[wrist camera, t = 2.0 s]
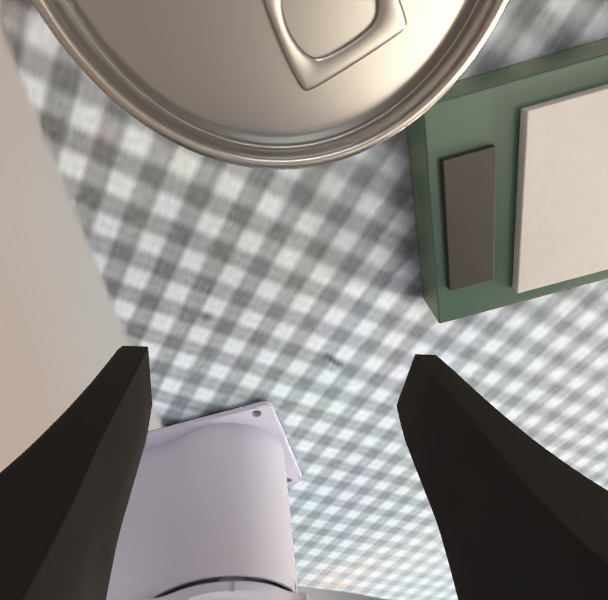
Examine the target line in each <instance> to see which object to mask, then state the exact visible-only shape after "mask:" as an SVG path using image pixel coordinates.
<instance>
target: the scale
mask: <svg viewBox="0 0 608 600" xmlns="http://www.w3.org/2000/svg"><path fill="white" fill-rule="evenodd" d="M407 136H408V146H409V156H410V166H411V176H412V186H413V196H414V206H415V216H416V226H417V236H418V246H419V256H420V267H421V277H422V287H423V297H424V300H425V301H426V303H427V305H428V306H429V308H430V309H431V311H432V312H433V314H434V316H435V317H436V319H437V320H438V322H439V323H443V322H447V321H451V320H454V319H458V318H462V317H466V316H469V315H473V314H477V313H481V312H484V311H488V310H492V309H496V308H499V307H503V306H507V305H510V304H514V303H518V302H522V301H525V300H529V299H533V298H537V297H540V296H544V295H548V294H552V293H555V292H559V291H563V290H567V289H570V288H574V287H578V286H581V285H585V284H589V283H593V282H596V281H600V280H604V279H608V38H605V39H601V40H598V41H594V42H591V43H587V44H584V45H581V46H577V47H574V48H570V49H567V50H563V51H560V52H556V53H553V54H549V55H546V56H542V57H539V58H535V59H532V60H528V61H525V62H522V63H518V64H515V65H511V66H508V67H504V68H501V69H497V70H494V71H490V72H487V73H483V74H480V75H476V76H473V77H469V78H466V79H463V80H459V81H456V82H455V83H454V85H453V86H452V87H451V88H450V89H449V90H448V91H447V92H446V93H445V94H444V95H443V96H442V97H441V98H440V99H439V100H438V101H437V102H436V103H435V104H434V105H433V106H432V107H431V108H430V109H429V110H427V111H426V112H425V113H424V114H423V115H422V116H420V117H419V118H418V119H417V120H415V121H414V122H413V123H411V124H410V125H409V126H407Z"/></svg>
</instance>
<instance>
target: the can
mask: <svg viewBox="0 0 608 600" xmlns="http://www.w3.org/2000/svg"><path fill="white" fill-rule="evenodd" d="M32 2H33V4H34V5H35V7H36V9H37V10H38V12H39V13H40V15H41V16H42V18H43V20H44V21H45V23H46V24H47V25H48V27H49V28H50V30H51V31H52V33H53V34H54V35H55V37H56V38H57V39H58V41H59V42H60V43H61V45H62V46H63V47H64V49H65V50H66V51H67V52H68V54H69V55H70V56H71V57H72V59H73V60H74V61H75V62H76V63H77V64H78V66H79V67H80V68H81V69H82V70H83V71H84V72H85V73H86V74H87V76H88V77H89V78H90V79H91V80H92V81H93V82H94V83H95V84H96V85H97V86H98V87H99V88H100V89H101V90H102V91H103V92H104V93H105V94H107V95H108V96H109V97H110V98H111V99H112V100H113V101H114V102H115V103H117V104H118V105H119V106H120V107H121V108H123V109H124V110H125V111H126V112H128V113H129V114H130V115H132V116H133V117H134V118H135V119H137V120H138V121H140V122H141V123H143V124H144V125H145V126H147V127H148V128H150V129H152V130H153V131H155V132H156V133H158V134H160V135H161V136H163V137H165V138H166V139H168V140H170V141H172V142H174V143H176V144H178V145H180V146H182V147H184V148H186V149H188V150H191V151H193V152H196V153H198V154H201V155H203V156H206V157H209V158H212V159H215V160H218V161H222V162H226V163H230V164H234V165H239V166H245V167H251V168H260V169H298V168H307V167H314V166H319V165H324V164H328V163H332V162H336V161H339V160H343V159H346V158H349V157H351V156H354V155H357V154H359V153H361V152H364V151H366V150H368V149H370V148H372V147H374V146H376V145H378V144H380V143H382V142H384V141H386V140H387V139H389V138H391V137H392V136H394V135H396V134H397V133H399V132H400V131H402V130H403V129H405V128H406V127H407V126H409V125H410V124H411V123H413V122H414V121H415V120H417V119H418V118H419V117H420V116H422V115H423V114H424V113H425V112H426V111H427V110H429V109H430V108H431V107H432V106H433V105H434V104H435V103H436V102H437V101H438V100H439V99H440V98H441V97H442V96H443V95H444V94H445V93H446V92H447V91H448V90H449V89H450V88H451V87H452V86H453V85H454V83H455V82H456V81H457V80H458V79H459V78H460V77H461V75H462V74H463V73H464V72H465V70H466V69H467V68H468V67H469V65H470V64H471V63H472V61H473V60H474V59H475V57H476V56H477V54H478V53H479V51H480V50H481V49H482V47H483V46H484V44H485V43H486V41H487V39H488V38H489V36H490V35H491V33H492V31H493V30H494V28H495V26H496V25H497V23H498V21H499V19H500V17H501V16H502V14H503V12H504V10H505V8H506V6H507V4H508V2H509V0H32Z"/></svg>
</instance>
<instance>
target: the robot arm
mask: <svg viewBox="0 0 608 600" xmlns="http://www.w3.org/2000/svg"><path fill="white" fill-rule="evenodd" d="M151 408H152V395H151V381H150V368H149V355H148V347H142V346H122V347H121V348H119V349H118V350H117V351H116V353H115V354H114V355H113V357H112V358H111V359H110V361H109V362H108V363H107V364H106V365H105V367H104V368H103V369H102V370H101V372H100V373H99V374H98V375H97V376H96V378H95V379H94V380H93V381H92V382H91V384H90V385H89V386H88V387H87V388H86V389H85V390H84V391H83V393H82V394H81V395H80V396H79V397H78V398H77V399H76V400H75V401H74V403H73V404H72V405H71V406H70V407H69V408H68V409H67V410H66V411H65V412H64V413H63V414H62V416H60V417H59V419H57V421H55V422H54V423H53V424H52V425H51V426H50V427H49V429H48V430H46V431H45V432H44V433H43V435H41V437H40V438H39V439H37V440H36V441H35V443H33V444H32V445H31V446H30V447H29V448H28V449H27V450H26V451H25V452H23V453H22V454H21V455H20V456H19V457H18V458H17V459H16V460H15V461H13V462H12V463H11V464H10V465H9V466H8V467H7V468H5V469H4V470H3V471H2V472H1V473H0V600H309V596H308V594H307V593H298V591H297V580H296V570H295V560H294V549H293V539H292V529H291V518H290V508H289V498H288V487H287V485H288V484H292V483H296V482H299V481H300V480H301V479H302V473H301V470H300V468H299V465H298V463H297V461H296V458H295V456H294V454H293V451H292V449H291V447H290V444H289V442H288V440H287V437H286V435H285V433H284V430H283V428H282V426H281V423H280V421H279V419H278V416H277V414H276V412H275V409H274V407H273V405H272V403H270V402H268V401H262V402H258V403H254V404H250V405H247V406H243V407H239V408H235V409H231V410H228V411H224V412H220V413H216V414H213V415H209V416H205V417H201V418H197V419H194V420H190V421H186V422H182V423H179V424H175V425H171V426H167V427H163V428H160V429H156V430H152V431H148V426H149V420H150V414H151ZM397 409H398V413H399V418H400V422H401V426H402V430H403V434H404V438H405V441H406V444H407V446H408V449H409V452H410V454H411V457H412V459H413V462H414V465H415V467H416V470H417V472H418V475H419V477H420V480H421V482H422V485H423V488H424V490H425V493H426V495H427V498H428V500H429V503H430V505H431V508H432V511H433V513H434V516H435V519H436V522H437V525H438V527H439V530H440V534H441V537H442V541H443V544H444V548H445V551H446V555H447V558H448V562H449V565H450V569H451V573H452V577H453V581H454V585H455V589H456V593H457V596H458V600H608V491H607V490H606V489H604V488H602V487H601V486H599V485H598V484H596V483H594V482H593V481H591V480H590V479H588V478H587V477H585V476H584V475H582V474H581V473H579V472H578V471H576V470H574V469H573V468H572V467H570V466H569V465H567V464H566V463H564V462H563V461H562V460H560V459H559V458H557V457H556V456H555V455H553V454H552V453H550V452H549V451H548V450H546V449H545V448H544V447H542V446H541V445H540V444H538V443H537V442H536V441H534V440H533V439H532V438H531V437H529V436H528V435H527V434H526V433H524V432H523V431H522V430H521V429H519V428H518V427H517V426H516V425H514V424H513V423H512V422H511V421H510V420H508V419H507V418H506V417H505V416H504V415H502V414H501V413H500V412H499V411H498V410H497V409H496V408H494V407H493V406H492V405H491V404H490V403H489V402H488V401H486V400H485V399H484V398H483V397H482V396H481V395H480V394H479V393H478V392H476V391H475V390H474V389H473V388H472V387H471V386H470V385H469V384H468V383H467V382H465V381H464V380H463V379H462V378H461V377H460V376H459V375H458V374H457V373H456V372H454V371H453V370H452V369H451V368H450V367H449V366H448V365H447V364H446V363H444V362H443V361H442V360H441V359H440V358H439V357H437V356H436V355H420V354H415V357H414V359H413V362H412V365H411V367H410V370H409V373H408V376H407V378H406V381H405V384H404V387H403V389H402V392H401V395H400V397H399V400H398V403H397ZM255 411H258V412H255Z"/></svg>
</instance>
